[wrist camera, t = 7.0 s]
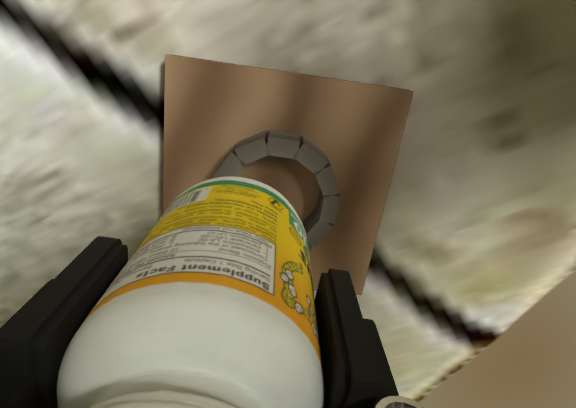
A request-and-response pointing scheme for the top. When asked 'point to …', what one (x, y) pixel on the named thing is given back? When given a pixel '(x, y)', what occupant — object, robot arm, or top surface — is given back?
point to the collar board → (289, 148)
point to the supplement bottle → (205, 311)
